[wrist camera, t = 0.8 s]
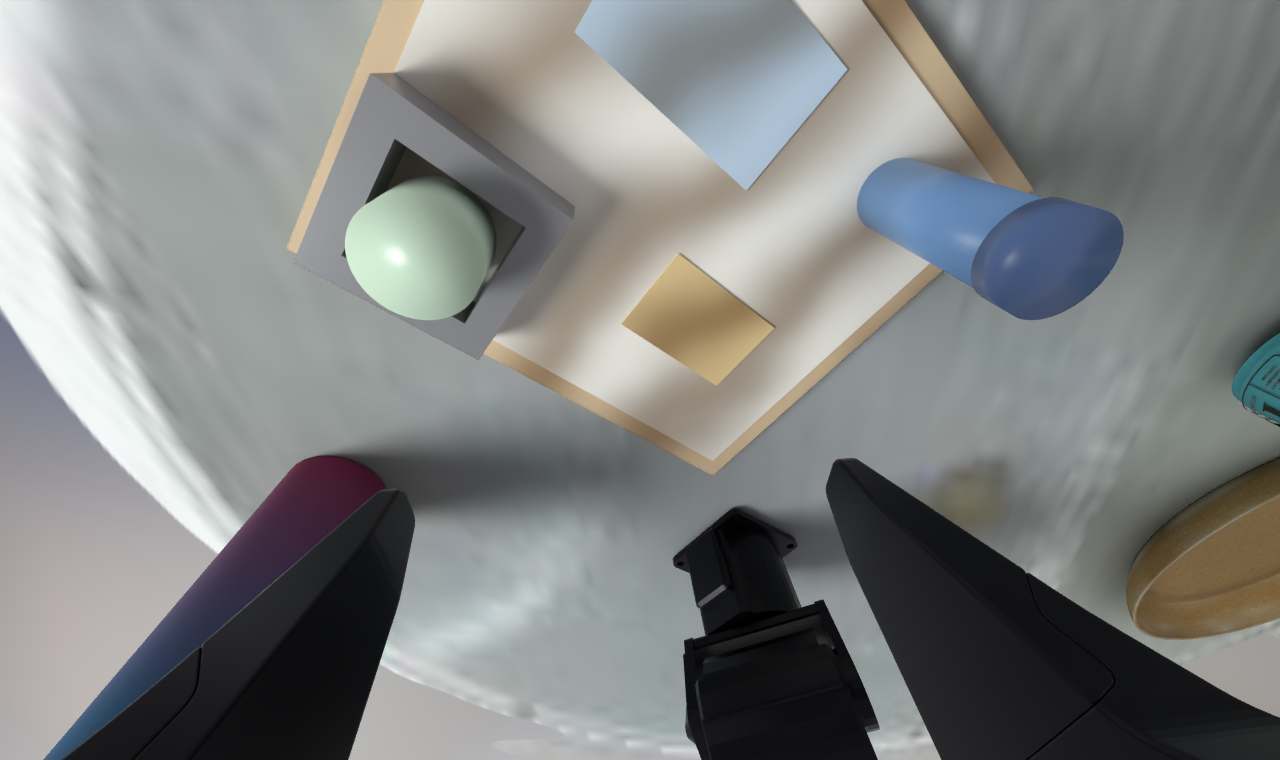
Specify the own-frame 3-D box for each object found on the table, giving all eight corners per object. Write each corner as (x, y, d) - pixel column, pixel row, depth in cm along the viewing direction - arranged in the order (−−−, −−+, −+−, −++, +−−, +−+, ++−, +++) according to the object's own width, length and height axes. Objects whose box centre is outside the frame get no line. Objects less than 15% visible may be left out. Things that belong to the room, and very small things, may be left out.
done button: (517, 222, 17) (505, 249, 14) (466, 303, 19) (447, 340, 16) (409, 149, 15) (375, 165, 13) (363, 245, 17) (325, 276, 14)
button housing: (574, 206, 18) (573, 220, 16) (487, 336, 21) (478, 360, 19) (393, 72, 15) (370, 73, 13) (320, 244, 18) (292, 262, 16)
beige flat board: (1019, 185, 20) (1039, 191, 19) (709, 465, 28) (713, 479, 27) (574, -450, 11) (573, -498, 10) (296, 241, 19) (282, 250, 18)
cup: (255, 438, 24) (-105, 841, 11) (397, 448, 25) (212, 822, 13) (284, 524, 27) (36, 901, 15) (407, 529, 29) (271, 881, 16)
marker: (942, 187, 19) (1140, 256, 12) (881, 246, 20) (1031, 338, 13) (901, 137, 18) (1097, 182, 11) (839, 203, 19) (981, 280, 12)
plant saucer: (1524, 358, 30) (1618, 388, 27) (1349, 556, 43) (1400, 590, 41) (1129, 480, 33) (1177, 517, 31) (1078, 630, 47) (1109, 665, 44)
